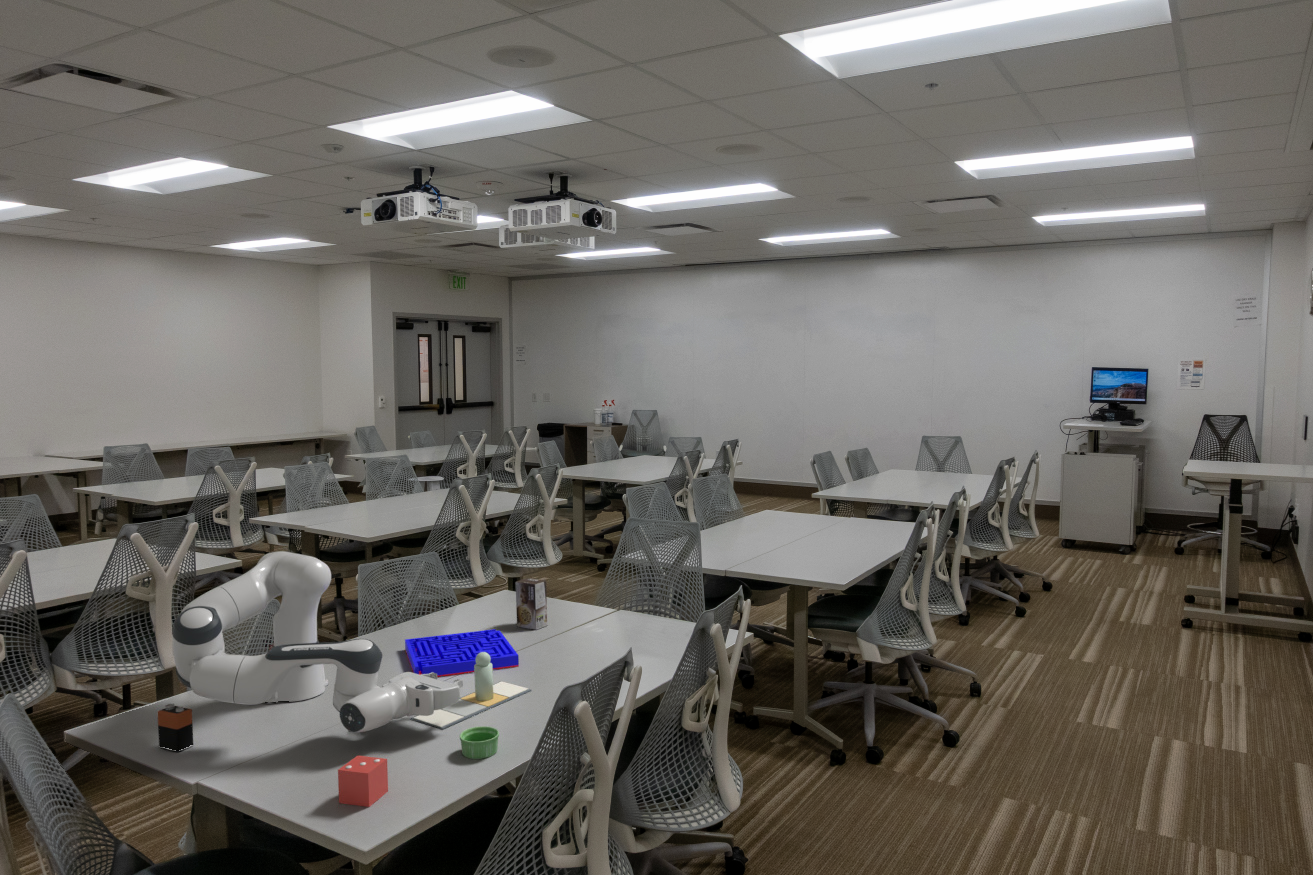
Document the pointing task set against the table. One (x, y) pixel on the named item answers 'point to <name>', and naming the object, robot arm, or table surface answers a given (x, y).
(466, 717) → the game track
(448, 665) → the maze
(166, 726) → the battery
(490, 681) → the pawn
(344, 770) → the red die
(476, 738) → the ramekin
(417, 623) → the table surface
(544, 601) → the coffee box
